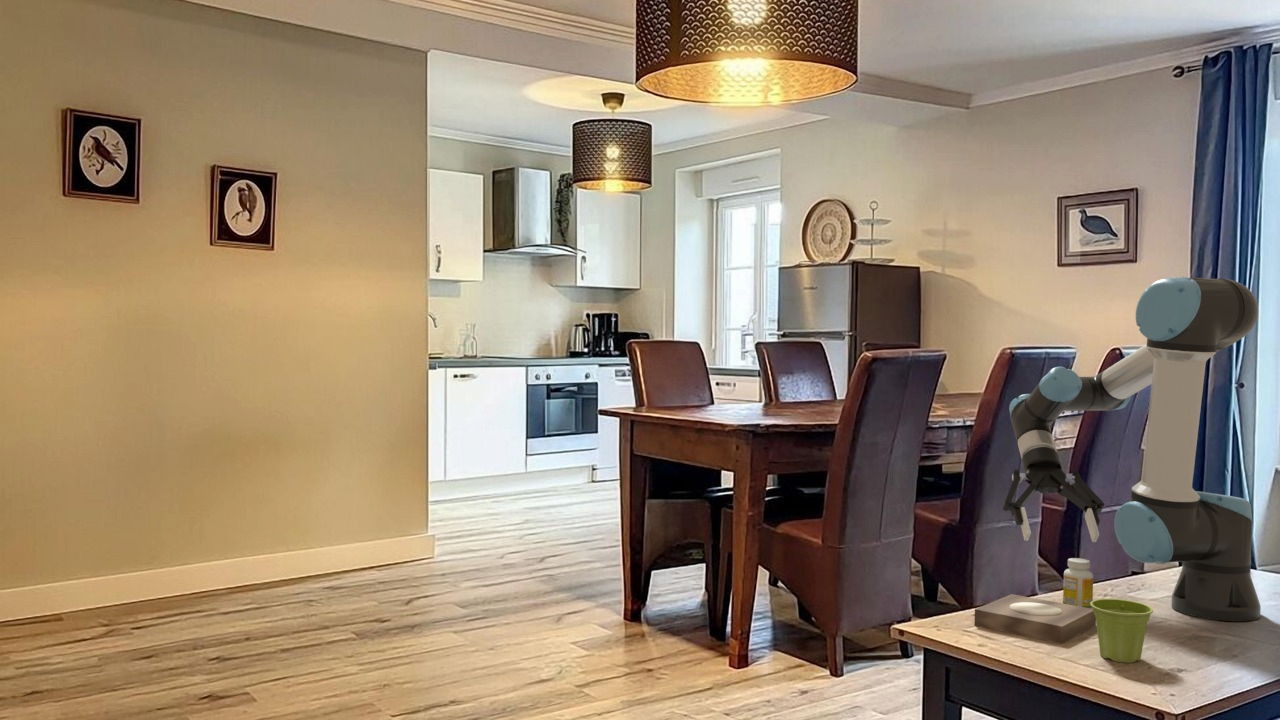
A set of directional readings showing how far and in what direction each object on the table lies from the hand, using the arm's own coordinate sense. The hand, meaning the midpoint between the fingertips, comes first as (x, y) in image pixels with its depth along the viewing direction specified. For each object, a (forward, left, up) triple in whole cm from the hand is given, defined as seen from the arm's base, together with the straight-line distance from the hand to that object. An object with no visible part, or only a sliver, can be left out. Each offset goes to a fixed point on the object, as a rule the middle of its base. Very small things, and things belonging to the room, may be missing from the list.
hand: (1061, 537), depth 209 cm
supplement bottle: (-6, +6, -13) cm, 15 cm away
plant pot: (-23, +33, -13) cm, 42 cm away
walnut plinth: (-5, +24, -12) cm, 27 cm away
